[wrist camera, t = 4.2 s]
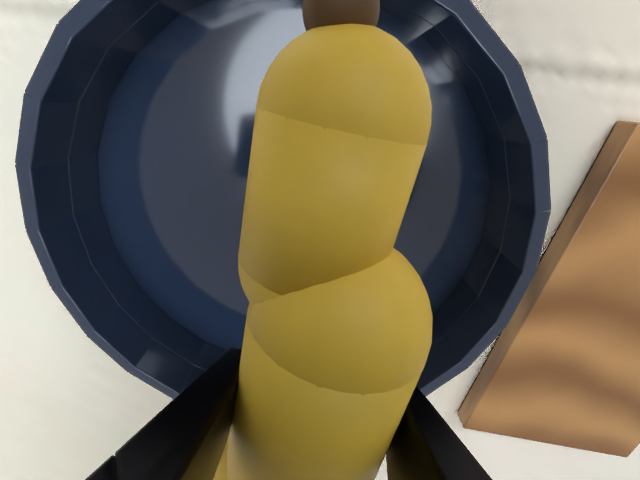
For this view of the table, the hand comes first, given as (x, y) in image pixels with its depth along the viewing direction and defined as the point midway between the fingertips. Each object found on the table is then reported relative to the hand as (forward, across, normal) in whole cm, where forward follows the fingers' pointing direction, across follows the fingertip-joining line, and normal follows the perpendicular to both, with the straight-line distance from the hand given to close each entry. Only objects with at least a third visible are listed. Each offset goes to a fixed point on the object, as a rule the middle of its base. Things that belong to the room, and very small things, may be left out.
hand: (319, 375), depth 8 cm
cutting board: (+10, -18, +2) cm, 21 cm away
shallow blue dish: (+11, +2, 0) cm, 11 cm away
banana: (+1, 0, 0) cm, 1 cm away
